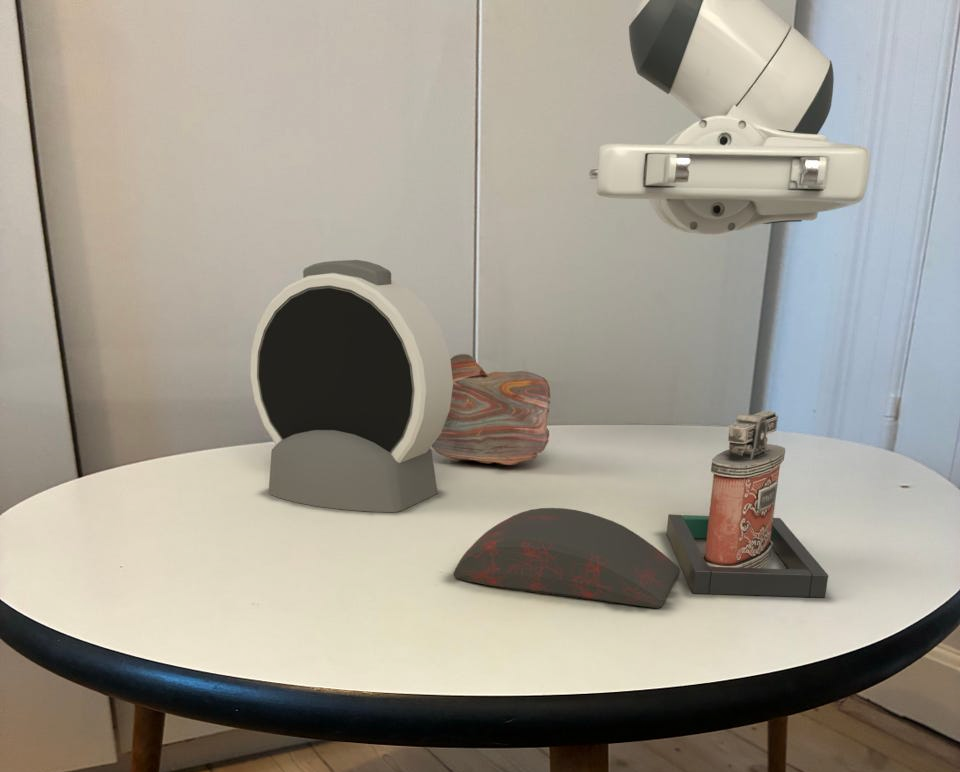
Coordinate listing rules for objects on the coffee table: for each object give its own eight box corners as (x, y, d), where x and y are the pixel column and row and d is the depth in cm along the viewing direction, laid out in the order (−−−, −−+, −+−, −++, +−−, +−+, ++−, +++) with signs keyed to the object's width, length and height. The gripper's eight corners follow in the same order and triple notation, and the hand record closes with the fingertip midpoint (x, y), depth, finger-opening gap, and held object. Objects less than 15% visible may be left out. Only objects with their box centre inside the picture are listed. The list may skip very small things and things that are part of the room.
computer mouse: (486, 550, 71) (487, 494, 70) (682, 574, 67) (688, 515, 66) (444, 586, 64) (444, 524, 63) (660, 615, 60) (666, 550, 59)
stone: (413, 463, 96) (412, 354, 92) (443, 447, 104) (443, 344, 100) (543, 475, 93) (548, 362, 89) (564, 457, 100) (570, 351, 96)
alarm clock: (236, 494, 84) (219, 258, 77) (306, 469, 93) (296, 255, 86) (409, 520, 78) (407, 265, 71) (466, 491, 87) (470, 262, 80)
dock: (777, 537, 76) (780, 517, 75) (825, 597, 64) (828, 575, 63) (666, 533, 76) (668, 514, 75) (692, 593, 64) (694, 570, 63)
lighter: (737, 583, 66) (756, 427, 62) (688, 572, 68) (704, 420, 64) (781, 553, 72) (801, 410, 68) (735, 544, 74) (752, 404, 70)
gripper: (589, 131, 83) (600, 116, 71) (843, 136, 83) (900, 121, 70) (585, 215, 86) (595, 214, 73) (831, 220, 85) (884, 221, 72)
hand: (747, 169), depth 71 cm, fingers open, 8 cm apart
